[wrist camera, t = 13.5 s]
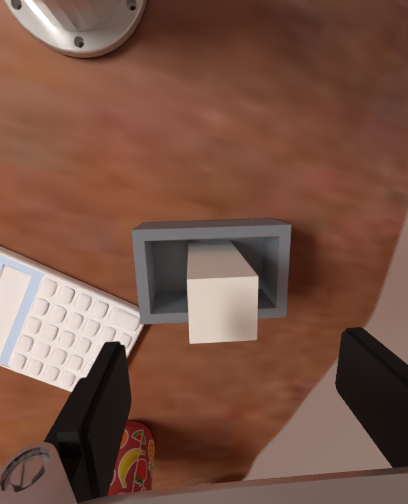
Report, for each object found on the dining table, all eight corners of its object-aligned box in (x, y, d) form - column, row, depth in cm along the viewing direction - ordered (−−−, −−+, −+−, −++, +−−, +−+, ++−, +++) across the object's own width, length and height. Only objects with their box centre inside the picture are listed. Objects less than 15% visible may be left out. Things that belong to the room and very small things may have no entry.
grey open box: (143, 222, 27) (131, 230, 22) (271, 218, 28) (291, 224, 22) (149, 300, 29) (140, 324, 24) (269, 294, 30) (286, 317, 24)
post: (188, 241, 27) (186, 279, 16) (229, 240, 28) (258, 276, 16) (190, 281, 28) (189, 343, 17) (229, 279, 29) (256, 340, 17)
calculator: (107, 394, 33) (102, 407, 31) (-54, 334, 30) (-71, 344, 28) (151, 309, 30) (148, 317, 28) (-20, 234, 27) (-36, 237, 25)
